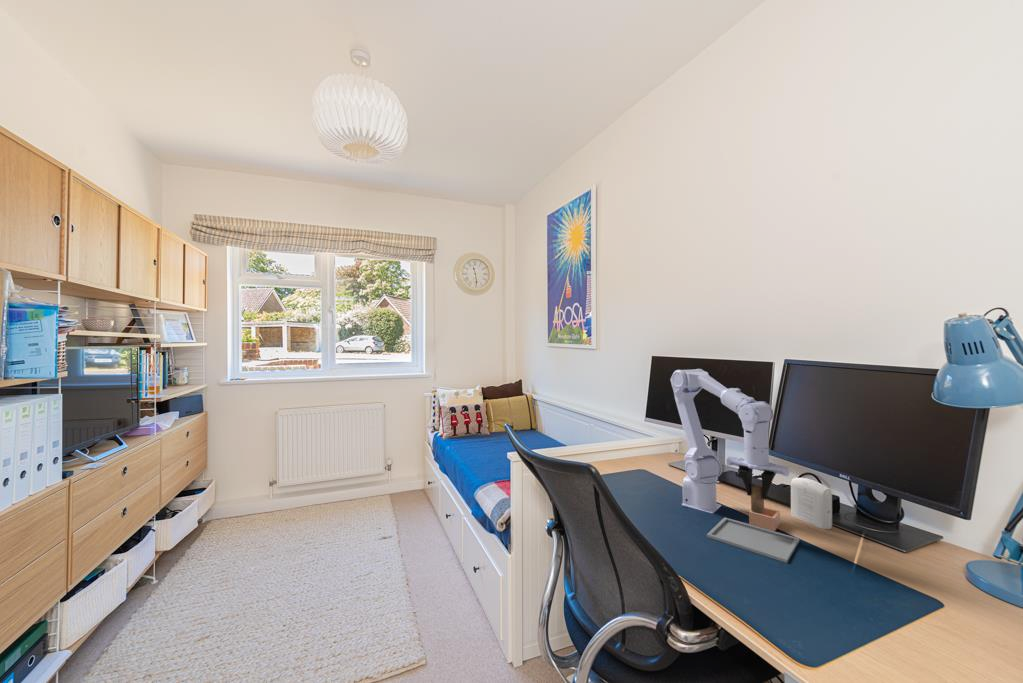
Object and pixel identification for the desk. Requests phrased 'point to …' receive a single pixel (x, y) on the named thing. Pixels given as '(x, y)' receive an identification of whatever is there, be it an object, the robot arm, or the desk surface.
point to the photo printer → (811, 502)
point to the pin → (757, 499)
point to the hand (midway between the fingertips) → (757, 496)
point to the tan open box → (765, 519)
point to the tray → (754, 539)
